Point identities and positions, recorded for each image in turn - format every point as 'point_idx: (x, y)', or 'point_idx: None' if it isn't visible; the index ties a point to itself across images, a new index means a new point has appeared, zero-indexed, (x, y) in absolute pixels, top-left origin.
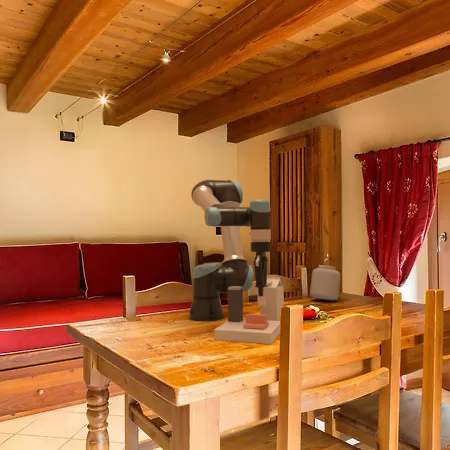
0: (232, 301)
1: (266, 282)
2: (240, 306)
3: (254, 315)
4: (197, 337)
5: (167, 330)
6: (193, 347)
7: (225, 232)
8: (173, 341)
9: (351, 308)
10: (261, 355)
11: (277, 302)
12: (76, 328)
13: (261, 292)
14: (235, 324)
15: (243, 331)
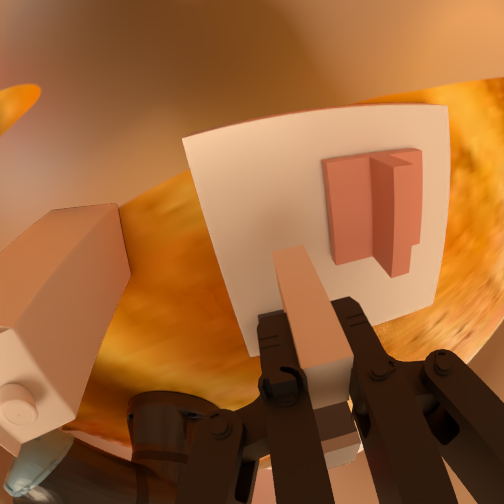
0: None
1: (224, 431)
2: None
3: (411, 228)
4: (398, 331)
5: None
6: (471, 283)
7: None
8: (432, 341)
9: None
10: (500, 110)
11: (55, 257)
12: (359, 451)
13: (366, 326)
14: (353, 295)
15: (446, 214)
